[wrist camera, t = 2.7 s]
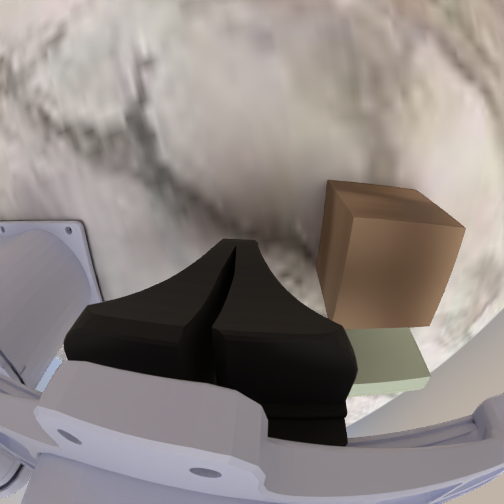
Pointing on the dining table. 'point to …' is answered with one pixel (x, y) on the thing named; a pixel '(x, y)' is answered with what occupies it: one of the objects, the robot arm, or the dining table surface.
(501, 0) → the dining table surface
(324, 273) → the letter cube
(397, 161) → the dining table surface
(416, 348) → the screen
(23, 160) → the dining table surface
